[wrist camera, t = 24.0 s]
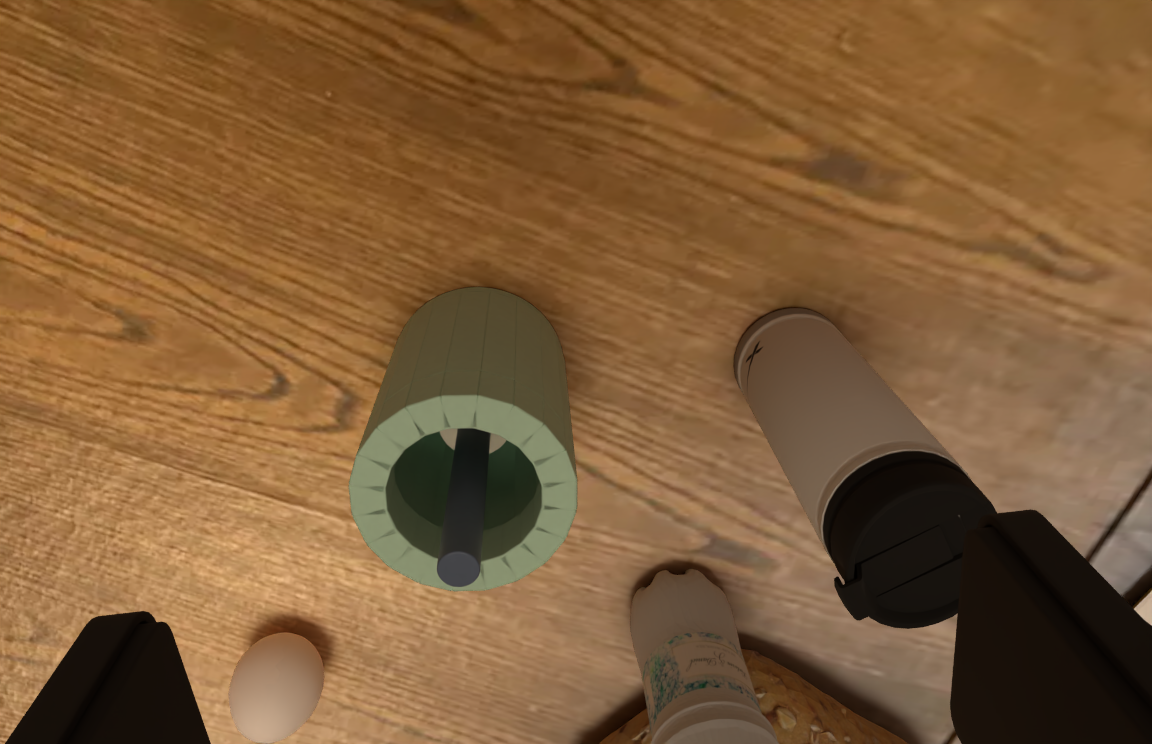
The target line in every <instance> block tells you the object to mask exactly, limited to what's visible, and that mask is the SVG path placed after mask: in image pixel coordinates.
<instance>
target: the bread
mask: <svg viewBox="0 0 1152 744" xmlns="http://www.w3.org/2000/svg"><path fill="white" fill-rule="evenodd" d="M741 652H742V655H743V658H744V661H745V664H746V667H747V670H748V673H749V676H750V679H751V682H752V685H753V688H754V691H755V694H756V697H757V701H758V704H759V707H760V710H761V713H762V715H764V716H765V717H766V719H767V720H768V721H769V722H770V724H771V725H772V727H773V729H774V731H775V734H776V737H777V741H778V743H779V744H908V743H906V742H905V741H904V740H903V739H901V738H900V737H898V736H896V735H894V734H893V733H891V732H889V731H887V730H885V729H884V728H882V727H880V726H878V725H876V724H874V723H872V722H870V721H869V720H867V719H865V718H863V717H861V716H859V715H857V714H855V713H854V712H852V711H851V710H850V709H848V708H846V707H845V706H843V705H842V704H841V703H839V702H838V701H836V700H835V699H833V698H832V697H831V696H829V695H827V694H825V693H823V692H821V691H820V690H819V689H817V688H816V687H814V686H813V685H812V684H810V683H808V682H807V681H805V680H804V679H803V678H801V677H800V676H799V675H798V674H797V673H794V672H792V671H790V670H788V669H787V668H785V667H783V666H781V665H779V664H777V663H776V662H775V661H773V660H772V659H769V658H767V657H764V656H762V655H761V654H759V653H758V652H757V651H753V650H746V649H741ZM651 741H652V735H651V729H650V723H649V717H648V711H647V708H646V709H645V710H643V711H642V712H640V713H639V714H638V715H637V716H635V717H634V718H632V719H631V720H630V721H628V722H627V723H626V724H624V725H623V726H622V727H620V728H619V729H617V730H616V731H614V732H613V733H611V734H610V735H609V736H607V737H606V738H605V739H603V740H602V741H601V742H600V743H599V744H651Z"/></svg>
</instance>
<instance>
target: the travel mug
mask: <svg viewBox="0 0 1152 744" xmlns="http://www.w3.org/2000/svg"><path fill="white" fill-rule="evenodd" d="M734 372H735V377H736V380H737V383H738V385H739V387H740V389H741V391H742V393H743V395H744V396H745V399H746V400H747V402H748V404H749V406H750V408H751V410H752V412H753V414H754V416H755V418H756V419H757V421H758V423H759V425H760V427H761V429H762V431H763V433H764V435H765V437H766V438H767V440H768V442H769V444H770V446H771V448H772V450H773V452H774V454H775V455H776V457H777V459H778V461H779V463H780V465H781V467H782V469H783V471H784V473H785V474H786V476H787V478H788V480H789V482H790V484H791V486H792V488H793V490H794V492H795V493H796V495H797V497H798V499H799V501H800V503H801V505H802V507H803V509H804V510H805V512H806V514H807V516H808V518H809V520H810V522H811V524H812V526H813V528H814V529H815V531H816V533H817V535H818V537H819V539H820V541H821V542H822V544H823V546H824V548H825V550H826V552H827V554H828V555H829V557H830V558H831V560H832V561H833V563H835V566H836V568H837V570H838V572H839V573H840V575H841V576H842V578H843V579H844V581H845V584H844V585H843V584H842V582H841V580H840V579H839V577H836V578H834V583H835V588H836V590H837V592H838V595H839V597H840V599H841V600H842V602H843V604H844V606H845V607H846V608H847V610H848V611H849V612H850V614H851V615H852V616H853V617H854V618H855V619H856V620H862V619H864V618H866V617H868V616H869V617H870V618H871V619H873V620H875V621H877V622H879V623H881V624H884V625H887V626H891V627H894V628H907V629H910V628H920V627H925V626H929V625H933V624H936V623H939V622H941V621H944V620H946V619H948V618H950V617H952V616H954V615H956V614H957V613H958V605H959V593H960V581H961V570H962V558H963V546H964V538H965V534H966V532H967V531H968V530H970V529H977V527H978V522H979V521H980V519H981V517H983V516H984V515H988V514H997V512H996V510H995V508H994V507H993V505H992V503H991V502H990V501H989V500H988V499H987V497H986V496H985V495H984V494H983V493H982V492H981V491H980V490H979V488H978V487H977V486H976V485H975V484H974V483H973V482H972V481H971V479H970V477H969V476H968V474H967V473H966V472H965V471H964V469H963V468H962V467H961V466H960V465H959V464H958V463H957V462H956V461H955V459H954V458H953V457H952V456H951V455H950V454H949V453H948V452H947V451H946V449H945V448H944V447H943V446H942V445H941V444H940V443H939V442H938V441H937V439H936V438H935V437H934V436H933V435H932V434H931V433H930V432H929V430H928V429H927V428H926V427H925V426H924V425H923V424H922V423H921V422H920V420H919V419H918V418H917V417H916V416H915V415H914V414H913V413H912V412H911V410H910V409H909V408H908V407H907V406H906V405H905V404H904V403H903V402H902V400H901V399H900V398H899V397H898V396H897V395H896V394H895V393H894V392H893V390H892V389H891V388H890V387H889V386H888V385H887V384H886V383H885V382H884V380H883V379H882V378H881V377H880V376H879V375H878V374H877V373H876V371H875V370H874V369H873V368H872V367H871V366H870V365H869V364H868V363H867V361H866V360H865V359H864V358H863V357H862V356H861V355H860V354H859V353H858V351H857V350H856V349H855V348H854V347H853V346H852V345H851V344H850V343H849V341H848V340H847V339H846V338H845V337H844V336H843V335H842V334H841V333H840V331H839V330H838V329H837V328H836V327H835V326H834V325H833V324H832V323H831V322H830V321H829V320H828V319H827V318H825V317H824V316H823V315H821V314H819V313H817V312H814V311H812V310H808V309H802V308H788V309H783V310H778V311H775V312H773V313H770V314H768V315H766V316H764V317H763V318H761V319H759V320H758V321H757V322H756V323H754V324H753V325H752V326H751V327H750V328H749V329H748V330H747V332H746V333H745V334H744V335H743V337H742V339H741V341H740V342H739V344H738V346H737V350H736V353H735V358H734Z"/></svg>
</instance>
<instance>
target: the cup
mask: <svg viewBox="0 0 1152 744" xmlns="http://www.w3.org/2000/svg"><path fill="white" fill-rule="evenodd" d="M460 428H474V429H478V430H482V431H485V432H489V433H493V434H497V435H499V436H501V437H502V438H504V439H506V440H507V441H506V442H505V443H504V444H503V445H502V446H501V447H500V448H499V449H497V450H496V451H494V452H492V453H490V454H489V462H488V475H487V488H486V501H485V514H484V527H483V540H482V554H481V567H480V574H479V576H478V578H477V579H476V580H475V581H474V582H473V583H471V584H470V585H467V586H464V587H453V586H450V585H448V584H446V583H444V582H443V581H442V580H441V579H440V577H439V576H438V573H437V561H438V555H439V548H440V542H441V535H442V528H443V522H444V515H445V509H446V502H447V495H448V489H449V482H450V475H451V469H452V462H453V456H454V450H453V449H452V448H451V447H449V446H448V445H447V444H446V442H445V441H444V440H443V438H442V436H441V434H440V432H439V431H442V430H445V429H460ZM349 494H350V503H351V512H352V516H353V518H354V520H355V522H356V524H357V526H358V528H359V530H360V532H361V534H362V536H363V538H364V540H365V542H366V543H367V546H368V547H369V548H370V549H371V550H372V551H373V552H374V553H375V554H376V555H377V556H378V557H379V558H380V559H381V560H382V561H383V562H384V563H385V564H386V565H387V566H389V567H390V568H392V569H393V570H395V571H397V572H399V573H401V574H403V575H404V576H406V577H408V578H410V579H412V580H414V581H416V582H419V583H420V584H423V585H428V586H432V587H436V588H440V589H445V590H449V591H481V590H489V589H492V588H496V587H499V586H502V585H506V584H509V583H512V582H516V581H518V580H520V579H522V578H523V577H525V576H526V575H528V574H529V573H531V572H532V571H534V570H536V569H537V568H539V567H540V566H542V565H543V564H545V562H547V561H548V560H549V558H550V557H551V556H552V555H553V554H554V552H555V551H556V550H557V549H558V548H559V547H560V545H561V544H562V543H563V542H564V541H565V538H566V537H567V535H568V532H569V530H570V527H571V524H572V522H573V519H574V517H575V514H576V509H577V474H576V464H575V455H574V444H573V435H572V425H571V416H570V406H569V397H568V387H567V378H566V368H565V360H564V356H563V352H562V347H561V344H560V342H559V339H558V337H557V335H556V333H555V331H554V329H553V327H552V326H551V324H550V323H549V321H548V320H547V319H546V318H545V317H544V315H543V314H542V313H541V312H540V311H539V310H537V309H536V308H535V307H534V306H533V305H531V304H530V303H528V302H527V301H525V300H524V299H522V298H520V297H518V296H516V295H514V294H511V293H508V292H505V291H502V290H498V289H493V288H485V287H469V288H462V289H456V290H453V291H450V292H447V293H444V294H442V295H440V296H437V297H435V298H434V299H432V300H430V301H429V302H427V303H426V304H424V305H423V306H422V307H421V308H420V309H418V310H417V311H416V312H415V314H414V315H413V316H412V317H411V318H410V319H409V321H408V322H407V324H406V325H405V327H404V328H403V330H402V332H401V334H400V336H399V338H398V340H397V343H396V346H395V348H394V351H393V354H392V357H391V359H390V362H389V365H388V368H387V371H386V373H385V376H384V379H383V382H382V385H381V387H380V390H379V393H378V396H377V399H376V401H375V404H374V407H373V410H372V413H371V415H370V418H369V421H368V424H367V427H366V429H365V432H364V435H363V438H362V441H361V443H360V446H359V449H358V452H357V455H356V458H355V462H354V466H353V469H352V473H351V477H350V481H349Z"/></svg>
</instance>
